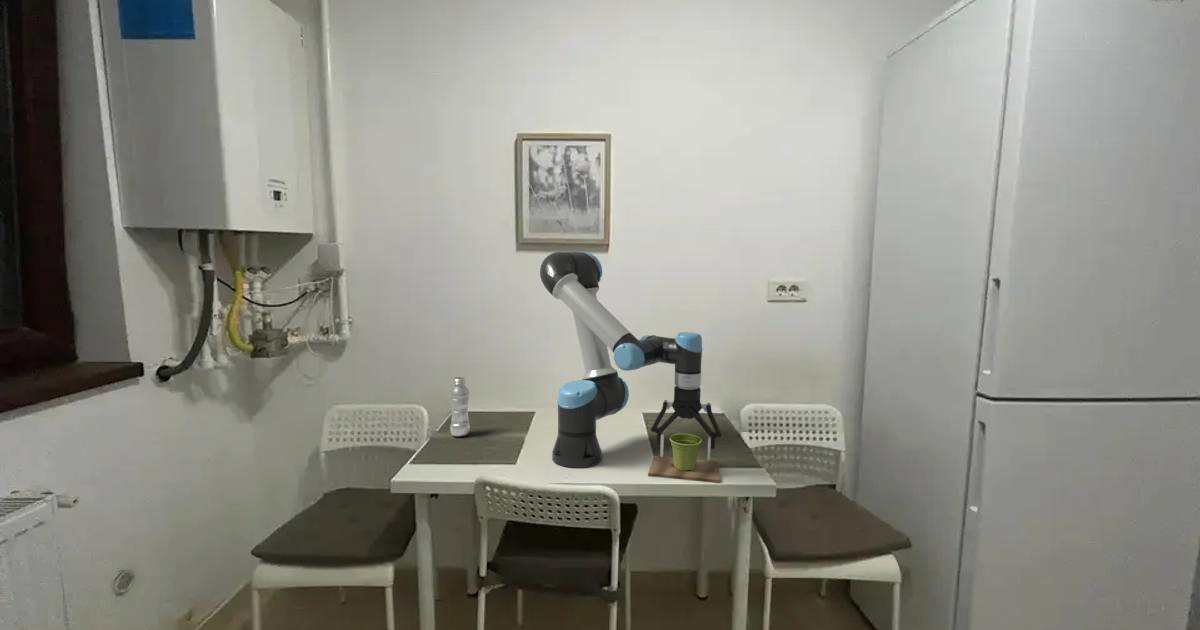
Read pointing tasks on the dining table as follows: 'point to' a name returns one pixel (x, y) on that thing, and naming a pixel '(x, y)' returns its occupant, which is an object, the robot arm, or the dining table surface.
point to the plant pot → (685, 450)
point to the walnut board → (701, 472)
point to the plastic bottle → (459, 408)
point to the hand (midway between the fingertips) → (685, 457)
